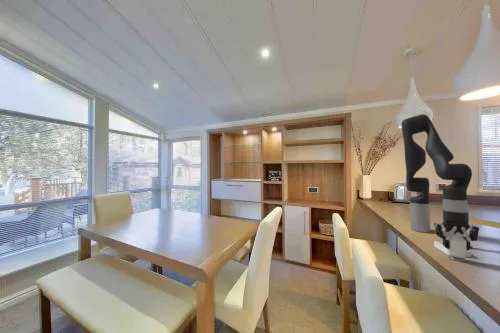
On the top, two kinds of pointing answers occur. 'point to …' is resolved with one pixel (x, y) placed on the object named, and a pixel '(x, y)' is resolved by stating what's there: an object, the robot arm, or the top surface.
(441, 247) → the white rectangular frame
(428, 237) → the top surface
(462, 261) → the grey round disc
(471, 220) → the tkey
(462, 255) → the eye dropper bottle
